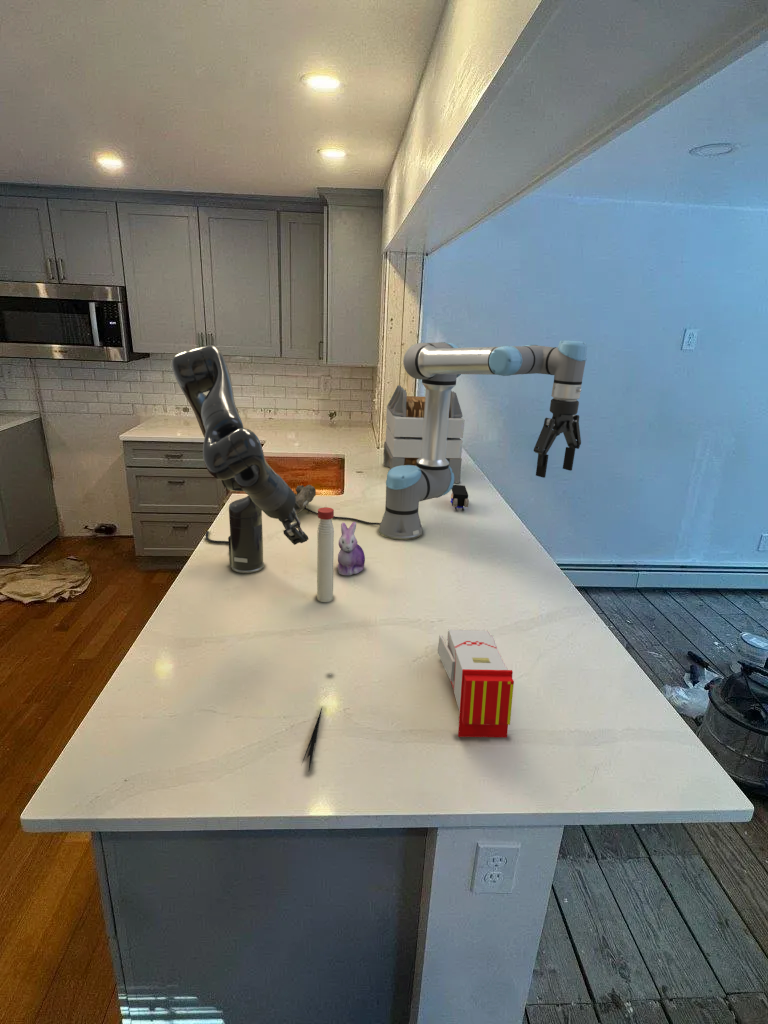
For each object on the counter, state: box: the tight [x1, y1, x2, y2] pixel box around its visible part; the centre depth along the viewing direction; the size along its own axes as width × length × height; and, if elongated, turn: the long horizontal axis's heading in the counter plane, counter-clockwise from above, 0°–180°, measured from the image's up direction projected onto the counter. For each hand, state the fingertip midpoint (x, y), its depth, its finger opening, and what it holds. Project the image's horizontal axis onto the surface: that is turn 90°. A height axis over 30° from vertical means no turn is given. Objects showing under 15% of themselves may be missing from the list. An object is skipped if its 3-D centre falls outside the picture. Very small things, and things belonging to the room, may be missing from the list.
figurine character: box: [449, 484, 470, 512], centre depth 229 cm, size 7×8×15 cm
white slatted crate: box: [383, 384, 465, 484], centre depth 268 cm, size 34×33×41 cm
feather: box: [301, 673, 332, 771], centre depth 108 cm, size 2×28×2 cm
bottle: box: [316, 518, 335, 603], centre depth 149 cm, size 4×4×25 cm
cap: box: [317, 506, 335, 520], centre depth 145 cm, size 4×4×2 cm
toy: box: [437, 628, 515, 738], centre depth 117 cm, size 12×13×30 cm
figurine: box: [337, 521, 366, 576], centre depth 168 cm, size 9×10×15 cm
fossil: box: [294, 484, 317, 516], centre depth 215 cm, size 22×10×15 cm
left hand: (299, 524), depth 131 cm, fingers open, 8 cm apart
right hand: (554, 473), depth 164 cm, fingers open, 13 cm apart
